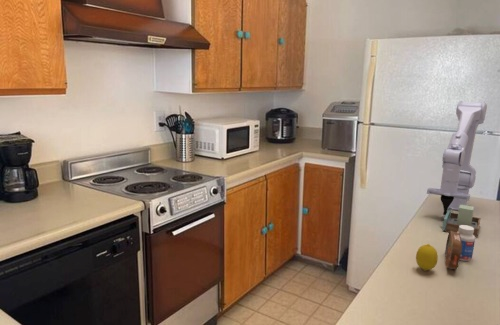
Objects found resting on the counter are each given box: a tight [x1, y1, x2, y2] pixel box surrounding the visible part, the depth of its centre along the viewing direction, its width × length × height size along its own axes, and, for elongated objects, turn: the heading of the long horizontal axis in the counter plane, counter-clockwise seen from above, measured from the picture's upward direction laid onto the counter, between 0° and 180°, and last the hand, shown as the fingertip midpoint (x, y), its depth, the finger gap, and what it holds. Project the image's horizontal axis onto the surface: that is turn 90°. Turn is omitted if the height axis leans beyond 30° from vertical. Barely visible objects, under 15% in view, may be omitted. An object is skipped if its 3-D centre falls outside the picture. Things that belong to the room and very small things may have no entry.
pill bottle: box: [457, 225, 476, 262], centre depth 119 cm, size 6×5×10 cm
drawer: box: [440, 207, 478, 231], centre depth 142 cm, size 15×11×4 cm
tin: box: [444, 231, 462, 270], centre depth 115 cm, size 15×3×8 cm, turn 156°
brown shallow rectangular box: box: [444, 212, 482, 239], centre depth 142 cm, size 13×10×3 cm
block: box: [457, 204, 475, 226], centre depth 140 cm, size 4×4×7 cm
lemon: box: [415, 243, 439, 272], centre depth 110 cm, size 6×6×8 cm
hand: (445, 214), depth 151 cm, fingers closed
